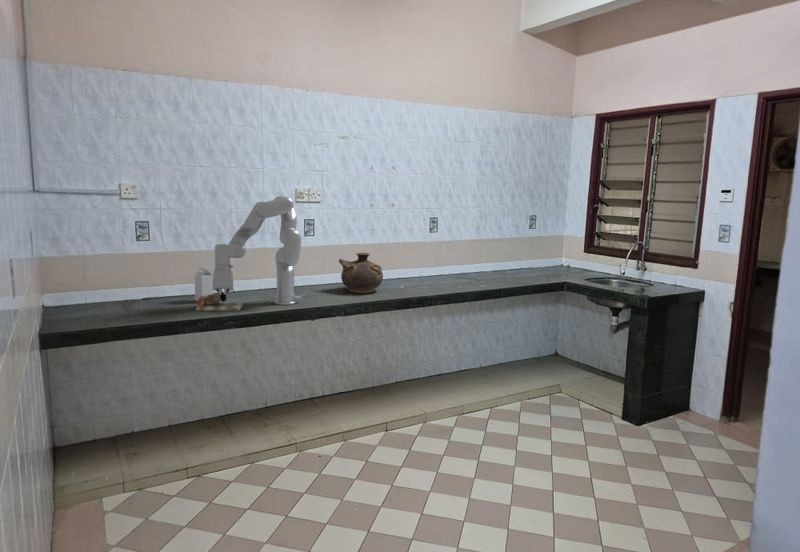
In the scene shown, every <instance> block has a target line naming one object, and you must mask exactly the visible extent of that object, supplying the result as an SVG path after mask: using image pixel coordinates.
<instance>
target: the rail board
mask: <svg viewBox="0 0 800 552" xmlns="http://www.w3.org/2000/svg"><path fill="white" fill-rule="evenodd" d="M242 307H243V302H219V305H207V304H206V296H201V297H200V298H199V299H198V302H197V306H196V311H240V310H241V309H242Z"/></svg>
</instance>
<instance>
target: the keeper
mask: <svg viewBox="0 0 800 552" xmlns="http://www.w3.org/2000/svg"><path fill="white" fill-rule="evenodd" d="M219 303H221V300H220V294H219V293H215V294H214V293H213V294H208V295H207V296H206V304H207V305H219Z"/></svg>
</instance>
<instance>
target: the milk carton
mask: <svg viewBox="0 0 800 552" xmlns="http://www.w3.org/2000/svg"><path fill="white" fill-rule="evenodd" d="M212 289H213V274H212V273H211V272H210V271H208V268H205V267H202V266H200V267H199V269H198V271H197V272H196V273H195V274H194V298H195V299H194V300H195V302H197V303H198V299H199V298H200V297H201V296H207V295H208V294H214V290H212Z"/></svg>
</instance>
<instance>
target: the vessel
mask: <svg viewBox="0 0 800 552" xmlns="http://www.w3.org/2000/svg"><path fill="white" fill-rule="evenodd" d="M356 255H357V260H352V261H350V260H345V259H342V258H339V259H338V263H339V264H340V265H341V267H342V272H341V274H340V276H341V282H342V284H343V285H344V286H345V287H346V288H347V289H348V290H349V292H351V293H353V292H355V294H370V293H371V292H372V293H374V292H375V290H376V289H377V288H379V286H381V285H382V282H383V280H384V274H383V270H382V266H380V264H377V263H375V262H373V261H371V260H368V257H369V256H370V255H371V253H368V252H356Z"/></svg>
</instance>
